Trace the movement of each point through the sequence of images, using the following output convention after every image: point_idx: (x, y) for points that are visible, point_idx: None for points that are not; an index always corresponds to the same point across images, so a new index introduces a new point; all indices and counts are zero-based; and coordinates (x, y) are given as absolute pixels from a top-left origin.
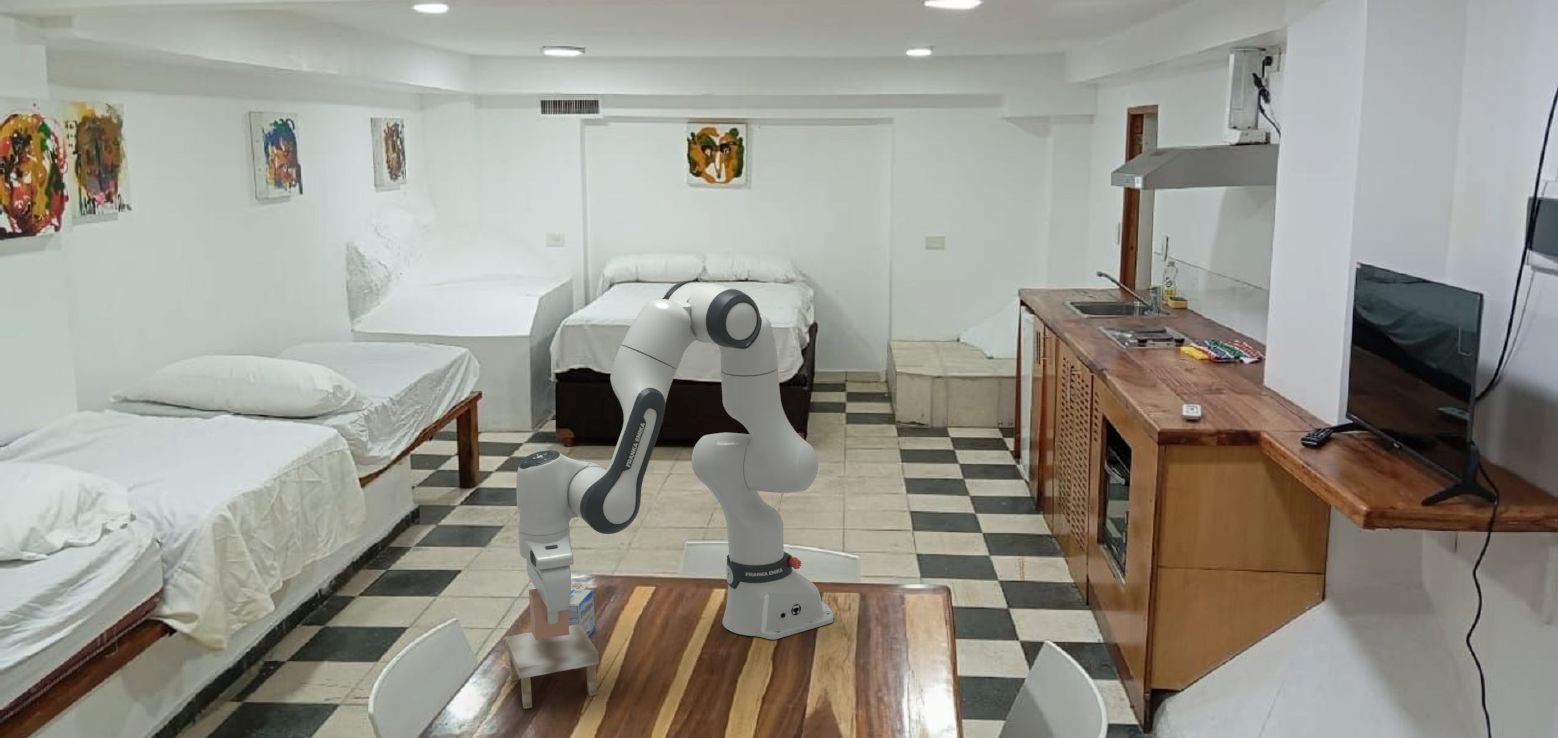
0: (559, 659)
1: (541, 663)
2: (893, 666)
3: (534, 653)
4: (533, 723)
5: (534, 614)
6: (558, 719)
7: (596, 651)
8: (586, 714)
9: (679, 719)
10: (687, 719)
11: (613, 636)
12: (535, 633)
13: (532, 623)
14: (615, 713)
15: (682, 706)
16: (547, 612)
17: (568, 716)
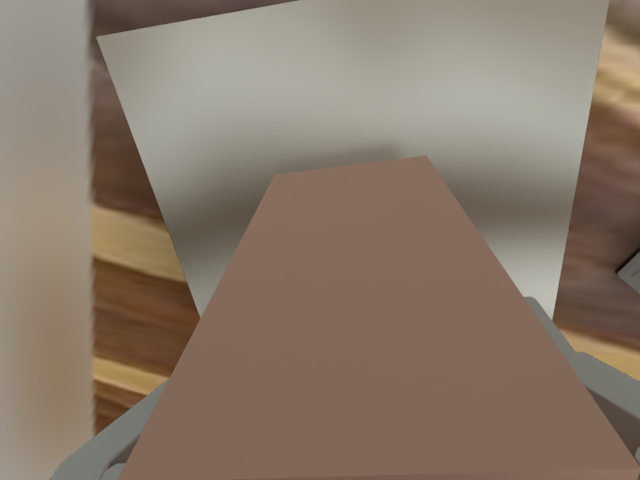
0: (185, 247)
1: (149, 166)
2: None
3: (278, 139)
4: (102, 75)
5: (224, 275)
6: (127, 157)
7: None
8: (153, 233)
9: (118, 396)
10: (118, 406)
11: (623, 354)
12: (266, 191)
13: (364, 195)
14: (153, 296)
15: None
16: (144, 403)
17: (144, 187)
